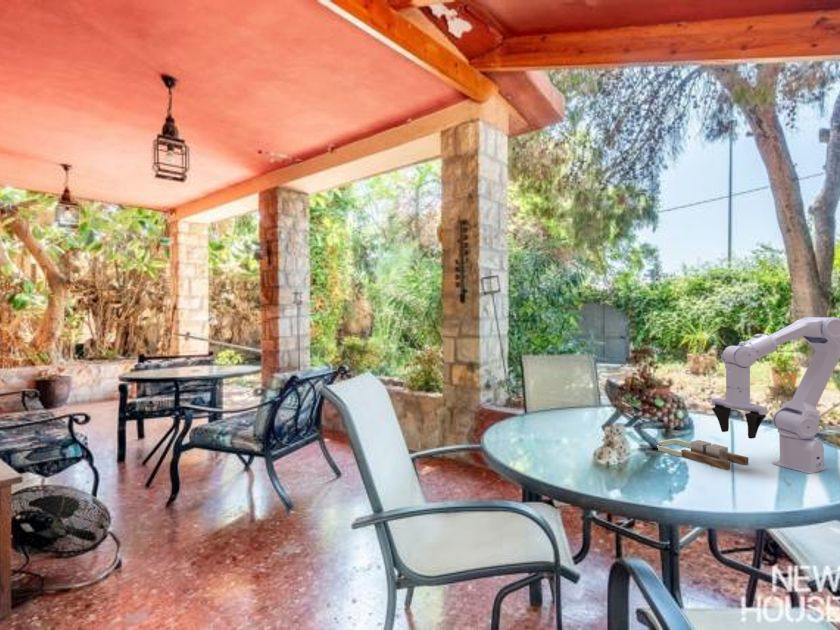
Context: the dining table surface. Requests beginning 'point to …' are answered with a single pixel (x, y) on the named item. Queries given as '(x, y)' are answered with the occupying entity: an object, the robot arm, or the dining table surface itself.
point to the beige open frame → (671, 451)
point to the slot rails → (715, 459)
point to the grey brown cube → (717, 452)
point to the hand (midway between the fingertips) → (738, 434)
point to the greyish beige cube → (699, 446)
